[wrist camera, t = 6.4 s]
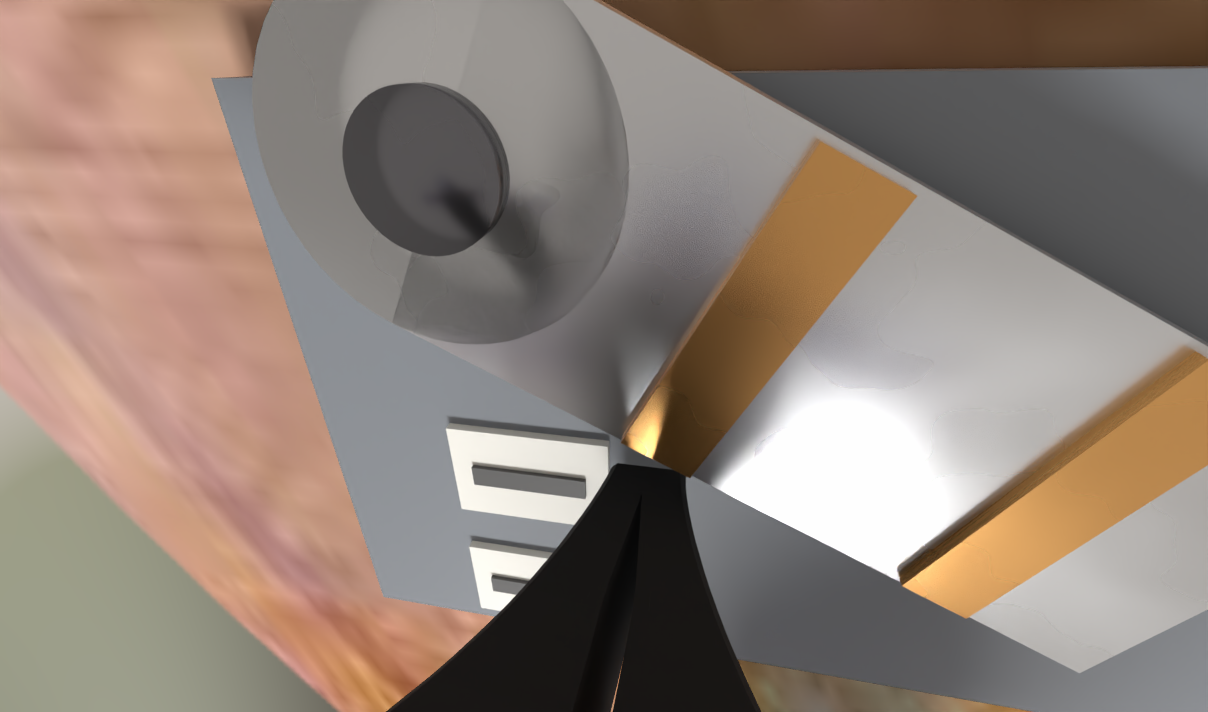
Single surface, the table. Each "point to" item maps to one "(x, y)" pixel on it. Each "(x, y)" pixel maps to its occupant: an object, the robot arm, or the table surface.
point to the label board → (721, 522)
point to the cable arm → (749, 304)
